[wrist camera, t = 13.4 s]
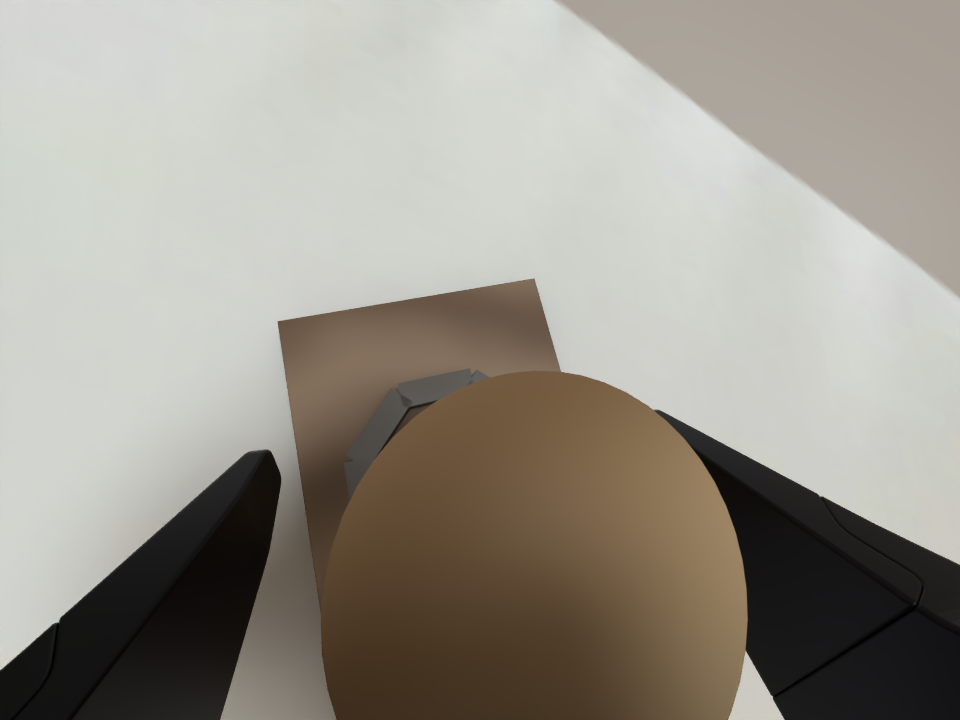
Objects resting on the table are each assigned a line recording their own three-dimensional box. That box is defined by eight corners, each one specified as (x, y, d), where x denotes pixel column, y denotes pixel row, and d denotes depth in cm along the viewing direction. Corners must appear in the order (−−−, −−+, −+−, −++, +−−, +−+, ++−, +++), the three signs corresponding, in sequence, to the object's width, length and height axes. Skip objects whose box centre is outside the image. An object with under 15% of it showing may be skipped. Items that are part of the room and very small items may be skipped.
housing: (619, 612, 16) (655, 644, 14) (345, 719, 14) (329, 780, 11) (528, 286, 19) (544, 264, 16) (286, 328, 16) (262, 309, 14)
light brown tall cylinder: (522, 456, 16) (800, 514, 4) (466, 548, 15) (635, 986, 3) (441, 400, 16) (493, 297, 4) (379, 487, 15) (207, 687, 3)
